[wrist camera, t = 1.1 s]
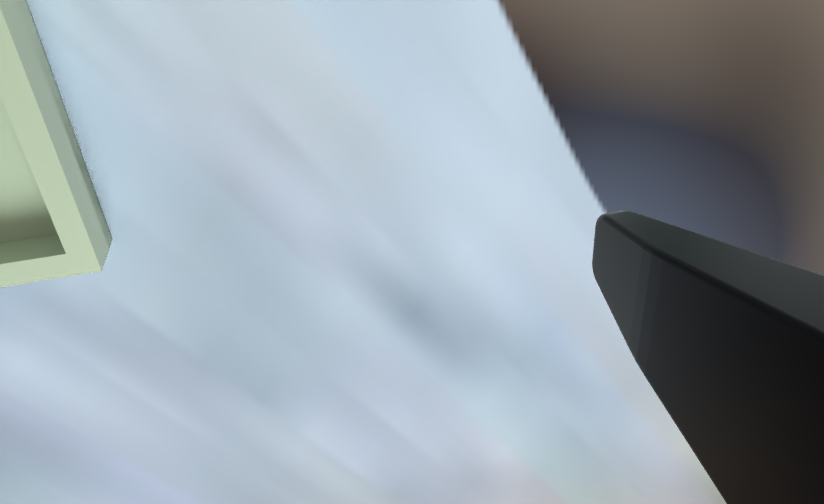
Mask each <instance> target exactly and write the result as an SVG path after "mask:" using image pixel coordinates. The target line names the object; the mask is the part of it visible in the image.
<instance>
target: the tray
mask: <svg viewBox="0 0 824 504" xmlns="http://www.w3.org/2000/svg"><path fill="white" fill-rule="evenodd" d="M111 242H112V237H111V234H110V231H109V229H108V226H107V223H106V220H105V217H104V215H103V212H102V209H101V206H100V204H99V201H98V198H97V195H96V193H95V190H94V187H93V184H92V182H91V179H90V176H89V173H88V171H87V168H86V165H85V162H84V160H83V157H82V154H81V151H80V149H79V146H78V143H77V140H76V137H75V135H74V132H73V129H72V126H71V124H70V121H69V118H68V115H67V113H66V110H65V107H64V104H63V102H62V99H61V96H60V93H59V91H58V88H57V85H56V82H55V80H54V77H53V74H52V71H51V69H50V66H49V63H48V60H47V57H46V55H45V52H44V49H43V46H42V44H41V41H40V38H39V35H38V33H37V30H36V27H35V24H34V22H33V19H32V16H31V13H30V11H29V8H28V5H27V2H26V0H0V288H1V287H7V286H13V285H19V284H25V283H31V282H38V281H44V280H50V279H56V278H62V277H68V276H74V275H81V274H87V273H93V272H99V271H102V269H103V266H104V263H105V260H106V257H107V254H108V251H109V248H110V245H111Z"/></svg>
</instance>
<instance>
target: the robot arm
mask: <svg viewBox="0 0 824 504" xmlns="http://www.w3.org/2000/svg"><path fill="white" fill-rule="evenodd" d="M592 266H593V273H594V276H595V279H596V281H597V283H598V285H599V287H600V289H601V292H602V294H603V296H604V298H605V300H606V302H607V304H608V306H609V308H610V310H611V312H612V314H613V316H614V318H615V320H616V322H617V324H618V326H619V329H620V331H621V333H622V335H623V337H624V339H625V341H626V343H627V345H628V347H629V349H630V351H631V353H632V355H633V357H634V358H635V360H636V362H637V364H638V365H639V367H640V369H641V370H642V372H643V374H644V375H645V377H646V378H647V380H648V382H649V383H650V385H651V386H652V388H653V389H654V391H655V392H656V394H657V396H658V397H659V399H660V400H661V402H662V403H663V405H664V407H665V408H666V410H667V411H668V413H669V414H670V416H671V417H672V419H673V421H674V422H675V424H676V425H677V427H678V428H679V430H680V431H681V433H682V435H683V436H684V438H685V439H686V441H687V442H688V444H689V445H690V447H691V449H692V450H693V452H694V453H695V455H696V456H697V458H698V459H699V461H700V463H701V464H702V466H703V467H704V469H705V470H706V472H707V473H708V475H709V477H710V478H711V480H712V481H713V483H714V484H715V486H716V487H717V489H718V491H719V492H720V494H721V495H722V497H723V498H724V500H725V501H726V503H727V504H824V275H821V274H818V273H815V272H811V271H809V270H806V269H803V268H800V267H797V266H794V265H791V264H788V263H785V262H782V261H778V260H776V259H773V258H770V257H766V256H764V255H761V254H758V253H755V252H752V251H749V250H746V249H743V248H740V247H737V246H734V245H730V244H728V243H725V242H722V241H719V240H716V239H713V238H710V237H707V236H703V235H701V234H698V233H695V232H692V231H689V230H686V229H683V228H680V227H677V226H674V225H670V224H668V223H665V222H662V221H659V220H655V219H652V218H650V217H646V216H644V215H641V214H638V213H635V212H631V211H628V210H622V211H617V212H612V213H606V214H602V215H601V216H600V217H599V218H598V219H597V222H596V227H595V238H594V249H593V260H592Z"/></svg>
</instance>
